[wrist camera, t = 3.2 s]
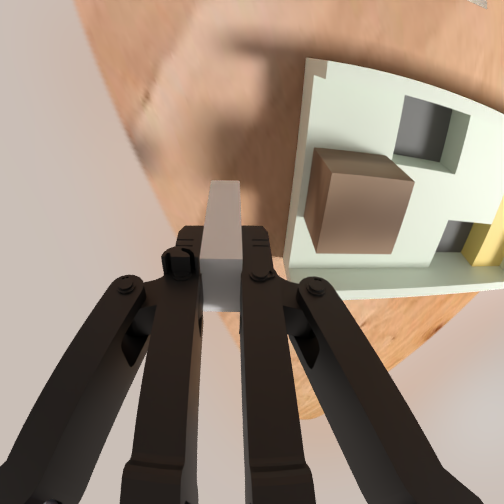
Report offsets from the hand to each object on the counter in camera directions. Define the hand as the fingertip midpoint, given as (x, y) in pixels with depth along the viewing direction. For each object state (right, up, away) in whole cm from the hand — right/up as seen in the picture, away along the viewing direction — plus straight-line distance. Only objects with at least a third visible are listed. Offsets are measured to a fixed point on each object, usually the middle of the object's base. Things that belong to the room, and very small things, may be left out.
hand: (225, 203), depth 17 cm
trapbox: (+17, +3, +5) cm, 18 cm away
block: (+8, +2, +3) cm, 8 cm away
